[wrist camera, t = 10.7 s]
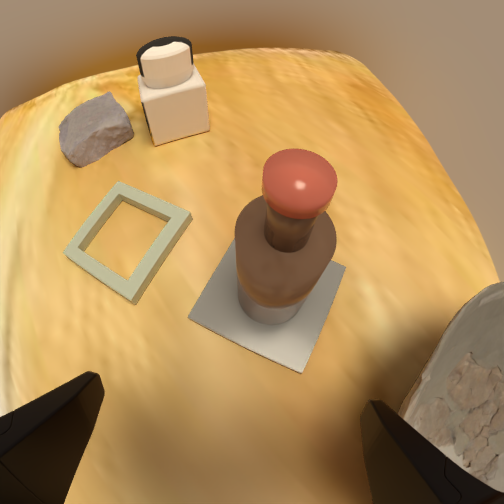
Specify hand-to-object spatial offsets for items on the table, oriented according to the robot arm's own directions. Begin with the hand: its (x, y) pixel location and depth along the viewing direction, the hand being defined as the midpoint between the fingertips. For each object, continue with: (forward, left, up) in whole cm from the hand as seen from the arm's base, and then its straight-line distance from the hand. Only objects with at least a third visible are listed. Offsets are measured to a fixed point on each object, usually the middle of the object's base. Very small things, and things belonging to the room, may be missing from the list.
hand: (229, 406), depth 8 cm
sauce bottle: (+9, +1, -13) cm, 16 cm away
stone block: (+18, +32, -14) cm, 39 cm away
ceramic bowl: (+3, -19, -14) cm, 24 cm away
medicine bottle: (+24, +21, -14) cm, 35 cm away
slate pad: (+9, +1, -14) cm, 16 cm away
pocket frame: (+7, +16, -14) cm, 22 cm away
